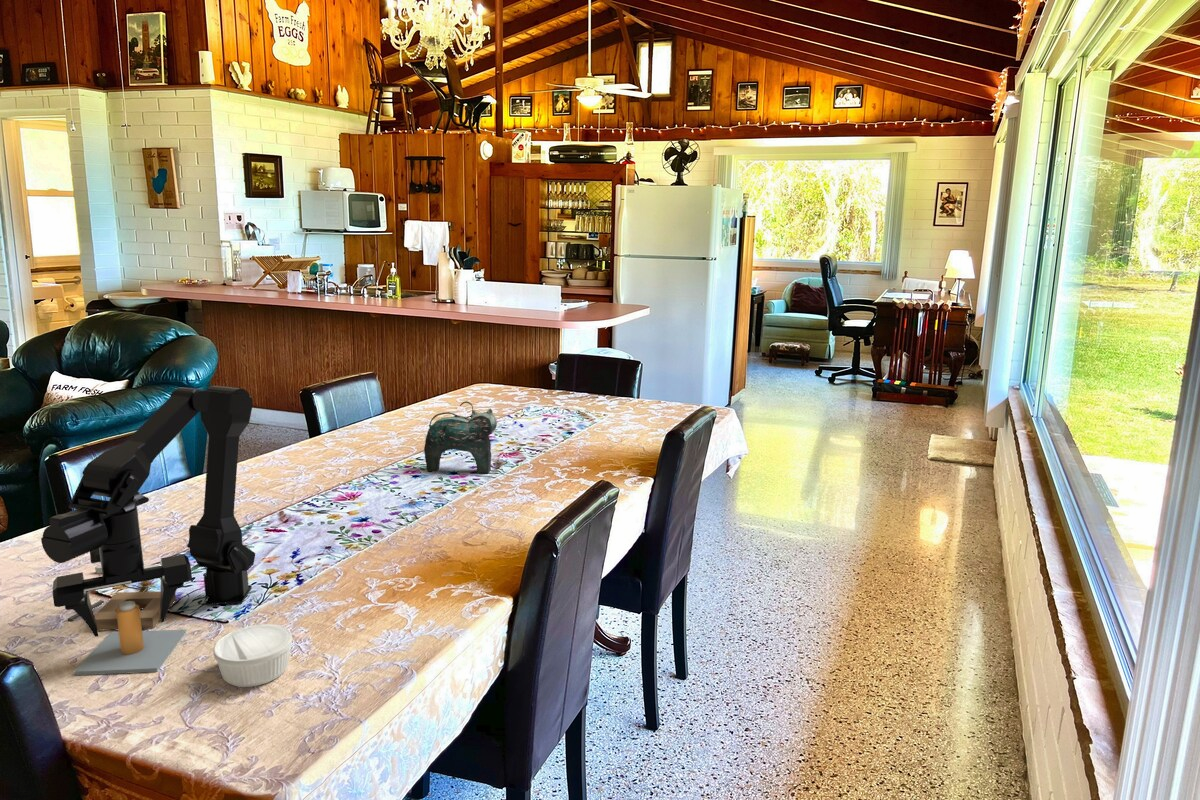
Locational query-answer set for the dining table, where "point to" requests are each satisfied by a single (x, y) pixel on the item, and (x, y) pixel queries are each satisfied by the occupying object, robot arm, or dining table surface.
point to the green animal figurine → (461, 438)
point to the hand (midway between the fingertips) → (130, 628)
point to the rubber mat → (147, 660)
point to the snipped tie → (92, 608)
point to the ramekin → (253, 654)
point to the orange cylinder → (129, 628)
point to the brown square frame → (146, 600)
